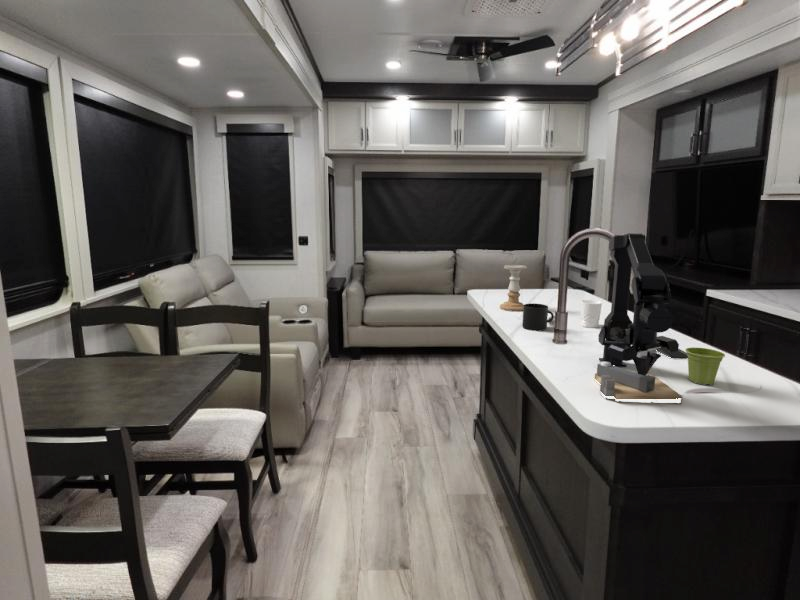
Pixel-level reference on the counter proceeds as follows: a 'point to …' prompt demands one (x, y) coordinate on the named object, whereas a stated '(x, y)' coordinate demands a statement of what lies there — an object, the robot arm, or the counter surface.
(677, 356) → the phone
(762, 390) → the counter surface
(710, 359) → the plant pot
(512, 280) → the candle holder
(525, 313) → the mug
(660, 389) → the tan wooden slab
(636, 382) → the folding leg
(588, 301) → the white cup
